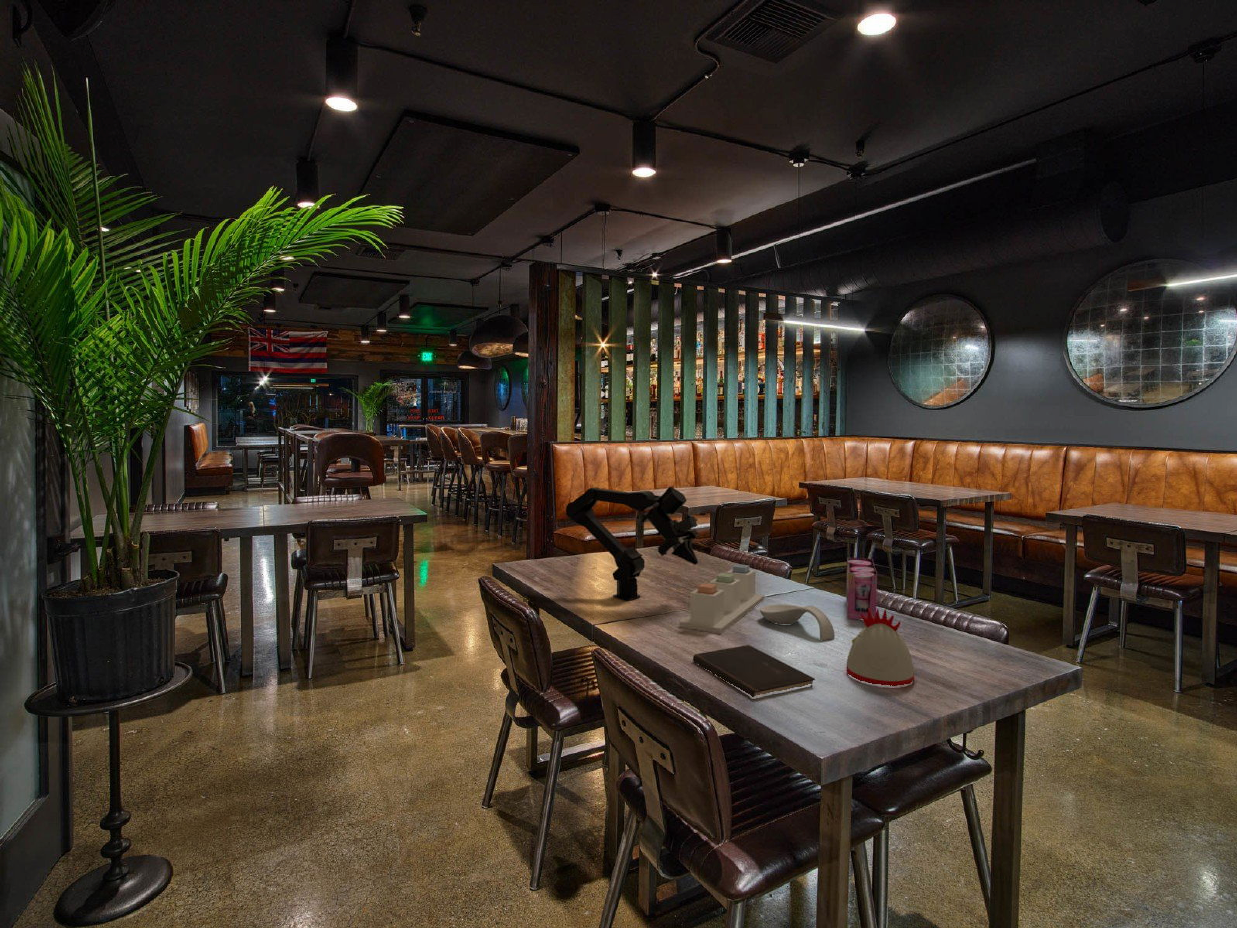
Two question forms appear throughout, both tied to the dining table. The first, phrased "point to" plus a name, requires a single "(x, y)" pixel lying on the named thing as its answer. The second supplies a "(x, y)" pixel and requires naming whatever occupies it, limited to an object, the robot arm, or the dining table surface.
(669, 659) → the dining table surface
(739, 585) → the button console
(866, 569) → the gum box
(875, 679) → the tan and red dome
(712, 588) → the terracotta button
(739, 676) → the hardcover book
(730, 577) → the sage green button
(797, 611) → the spoon rest
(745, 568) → the slate blue button
